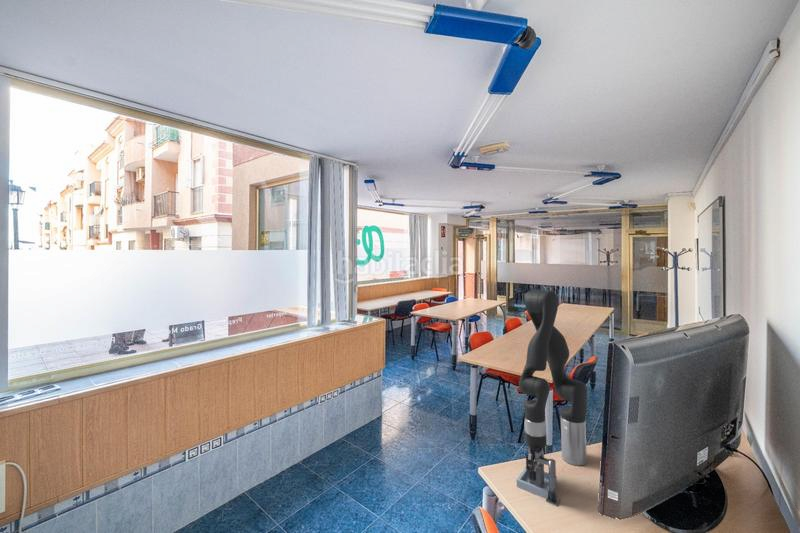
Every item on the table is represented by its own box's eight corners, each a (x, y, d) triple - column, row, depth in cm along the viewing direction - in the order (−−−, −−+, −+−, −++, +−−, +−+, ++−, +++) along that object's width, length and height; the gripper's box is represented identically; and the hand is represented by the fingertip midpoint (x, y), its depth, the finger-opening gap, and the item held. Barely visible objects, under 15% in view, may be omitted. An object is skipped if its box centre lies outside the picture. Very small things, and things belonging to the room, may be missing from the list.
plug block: (533, 478, 126) (532, 454, 125) (544, 482, 123) (543, 458, 123) (529, 483, 123) (528, 459, 122) (540, 488, 120) (540, 463, 120)
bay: (527, 471, 130) (526, 465, 130) (556, 482, 123) (556, 476, 123) (516, 486, 122) (516, 479, 122) (548, 499, 115) (547, 492, 115)
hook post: (538, 491, 119) (537, 448, 119) (560, 500, 114) (558, 456, 114) (534, 496, 116) (533, 453, 116) (557, 506, 112) (555, 461, 111)
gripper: (531, 420, 130) (532, 460, 130) (518, 435, 119) (519, 479, 120) (551, 425, 125) (552, 467, 126) (539, 442, 114) (540, 488, 115)
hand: (536, 473), depth 123 cm, fingers open, 8 cm apart
